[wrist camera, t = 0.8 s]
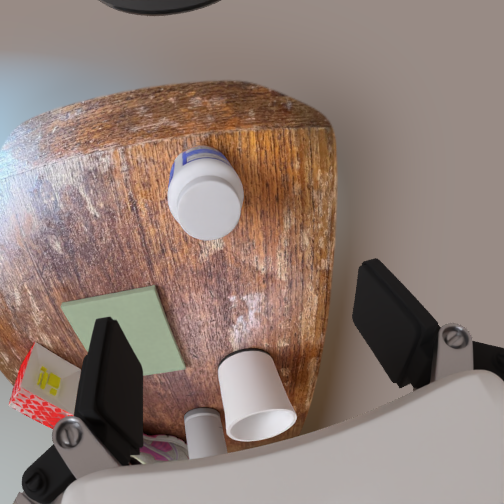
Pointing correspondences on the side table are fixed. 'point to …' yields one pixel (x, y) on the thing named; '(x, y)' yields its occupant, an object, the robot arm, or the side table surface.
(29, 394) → the red patterned cube box
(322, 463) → the robot arm
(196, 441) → the travel mug
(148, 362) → the mat
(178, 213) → the pill bottle
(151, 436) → the running shoe
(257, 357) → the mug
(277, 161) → the side table surface
